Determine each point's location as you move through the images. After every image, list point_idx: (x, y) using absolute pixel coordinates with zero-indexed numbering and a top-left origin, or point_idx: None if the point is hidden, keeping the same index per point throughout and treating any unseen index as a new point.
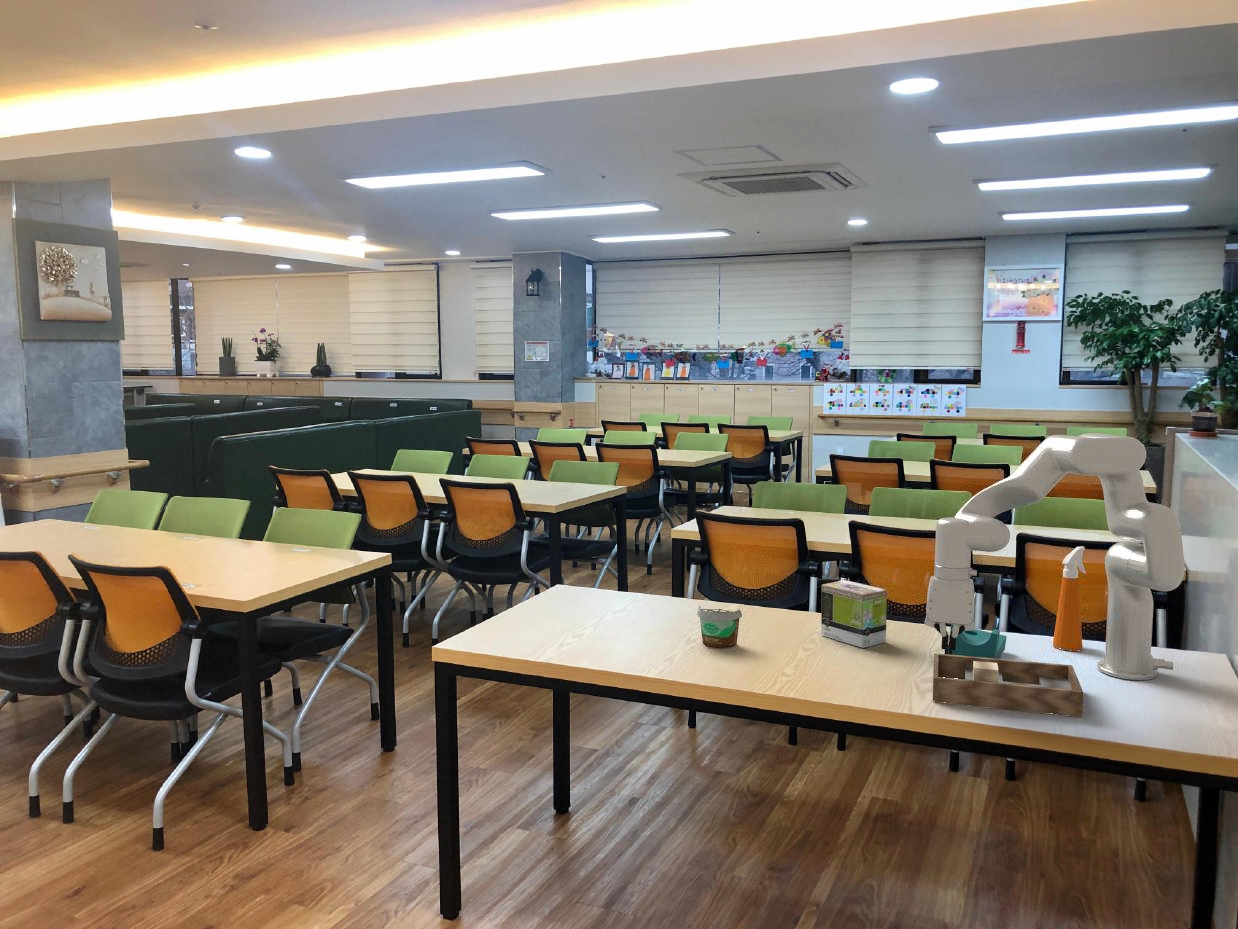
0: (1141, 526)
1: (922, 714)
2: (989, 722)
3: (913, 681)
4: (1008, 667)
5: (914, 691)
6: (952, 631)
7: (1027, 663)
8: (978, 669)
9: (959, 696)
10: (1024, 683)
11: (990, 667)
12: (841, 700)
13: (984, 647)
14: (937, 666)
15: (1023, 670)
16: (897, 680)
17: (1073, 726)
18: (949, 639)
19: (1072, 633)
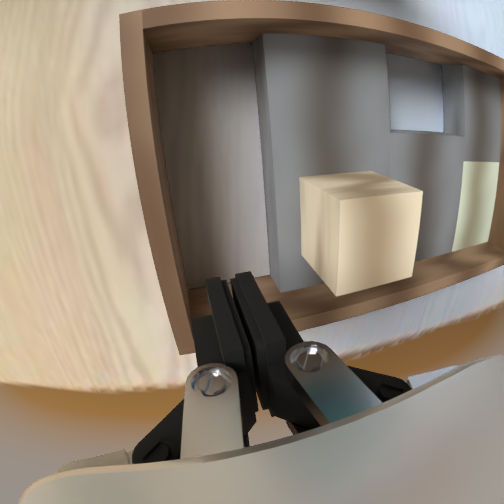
0: None
1: (176, 380)
2: None
3: (76, 142)
4: (416, 45)
5: (103, 241)
6: (295, 401)
7: (470, 57)
8: (349, 290)
9: None
10: (420, 58)
11: (394, 259)
12: (5, 369)
13: None
14: (162, 218)
15: (445, 55)
16: (30, 162)
17: (451, 288)
18: (262, 406)
19: None
